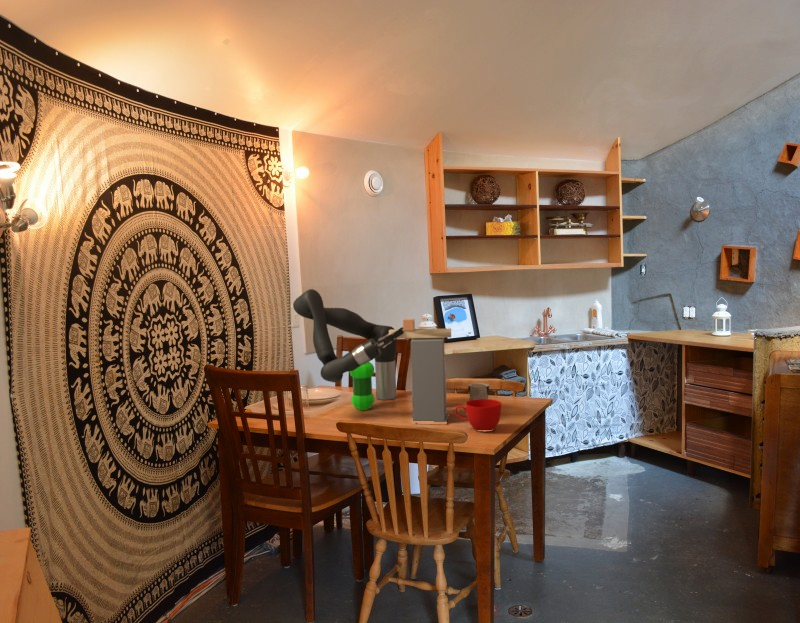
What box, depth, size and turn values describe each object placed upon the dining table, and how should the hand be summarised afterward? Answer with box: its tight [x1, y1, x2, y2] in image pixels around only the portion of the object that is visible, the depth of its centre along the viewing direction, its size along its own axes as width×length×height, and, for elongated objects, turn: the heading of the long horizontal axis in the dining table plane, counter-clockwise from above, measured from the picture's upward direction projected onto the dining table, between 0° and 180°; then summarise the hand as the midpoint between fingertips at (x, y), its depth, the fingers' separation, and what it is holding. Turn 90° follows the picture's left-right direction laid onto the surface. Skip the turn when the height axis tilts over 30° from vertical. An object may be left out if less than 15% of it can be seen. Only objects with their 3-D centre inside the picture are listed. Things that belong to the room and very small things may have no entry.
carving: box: [468, 384, 489, 401], centre depth 251 cm, size 6×8×12 cm
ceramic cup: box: [454, 398, 502, 430], centre depth 229 cm, size 13×17×10 cm
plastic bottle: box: [349, 361, 375, 411], centre depth 266 cm, size 10×10×25 cm
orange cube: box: [402, 318, 416, 330], centre depth 243 cm, size 4×4×4 cm
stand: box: [410, 338, 450, 423], centre depth 244 cm, size 14×14×32 cm
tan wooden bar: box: [389, 328, 452, 339], centre depth 243 cm, size 4×24×3 cm, turn 83°
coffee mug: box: [467, 382, 490, 396], centre depth 262 cm, size 12×9×10 cm
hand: (403, 330), depth 244 cm, fingers closed on tan wooden bar, 3 cm apart
